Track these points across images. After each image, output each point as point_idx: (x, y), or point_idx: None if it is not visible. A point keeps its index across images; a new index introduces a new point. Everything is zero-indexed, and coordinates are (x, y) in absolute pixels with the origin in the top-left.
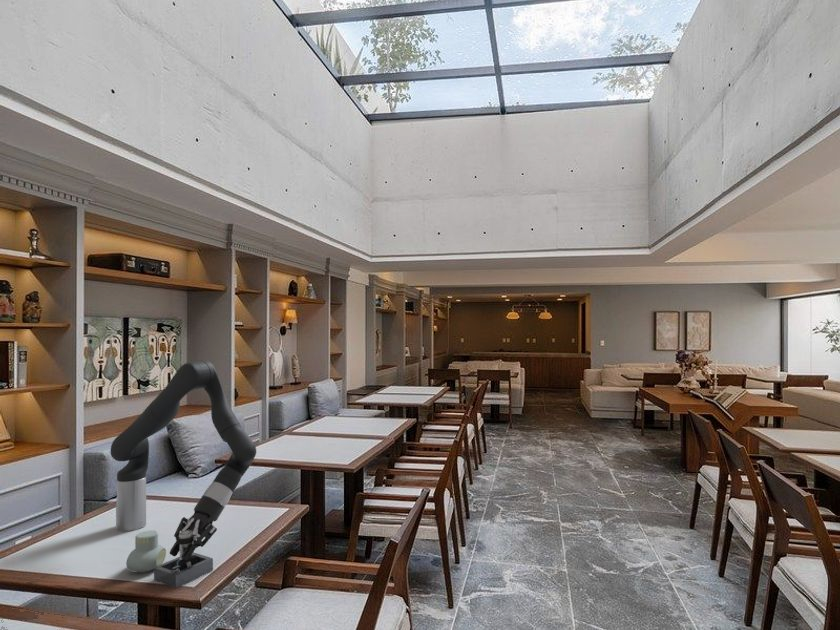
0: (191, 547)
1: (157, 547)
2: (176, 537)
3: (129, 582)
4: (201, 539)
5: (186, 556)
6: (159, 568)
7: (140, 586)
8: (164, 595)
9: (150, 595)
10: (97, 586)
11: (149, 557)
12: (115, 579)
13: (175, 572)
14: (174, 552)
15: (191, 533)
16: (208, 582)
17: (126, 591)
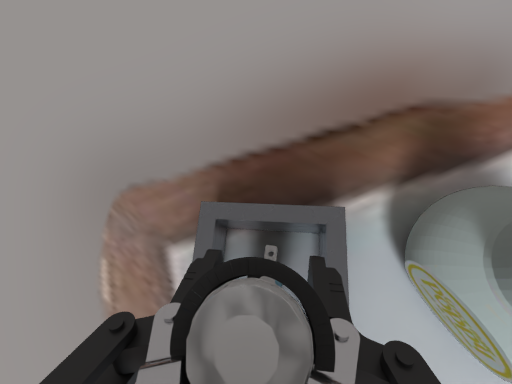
0: (176, 297)
1: (508, 310)
2: (300, 282)
3: (396, 174)
4: (84, 347)
5: (196, 262)
6: (314, 211)
7: (333, 173)
8: (212, 172)
9: (250, 155)
10: (459, 115)
11: (440, 235)
12: (465, 165)
13: (221, 216)
14: (310, 278)
15: (187, 364)
16: (143, 291)
17: (340, 137)
